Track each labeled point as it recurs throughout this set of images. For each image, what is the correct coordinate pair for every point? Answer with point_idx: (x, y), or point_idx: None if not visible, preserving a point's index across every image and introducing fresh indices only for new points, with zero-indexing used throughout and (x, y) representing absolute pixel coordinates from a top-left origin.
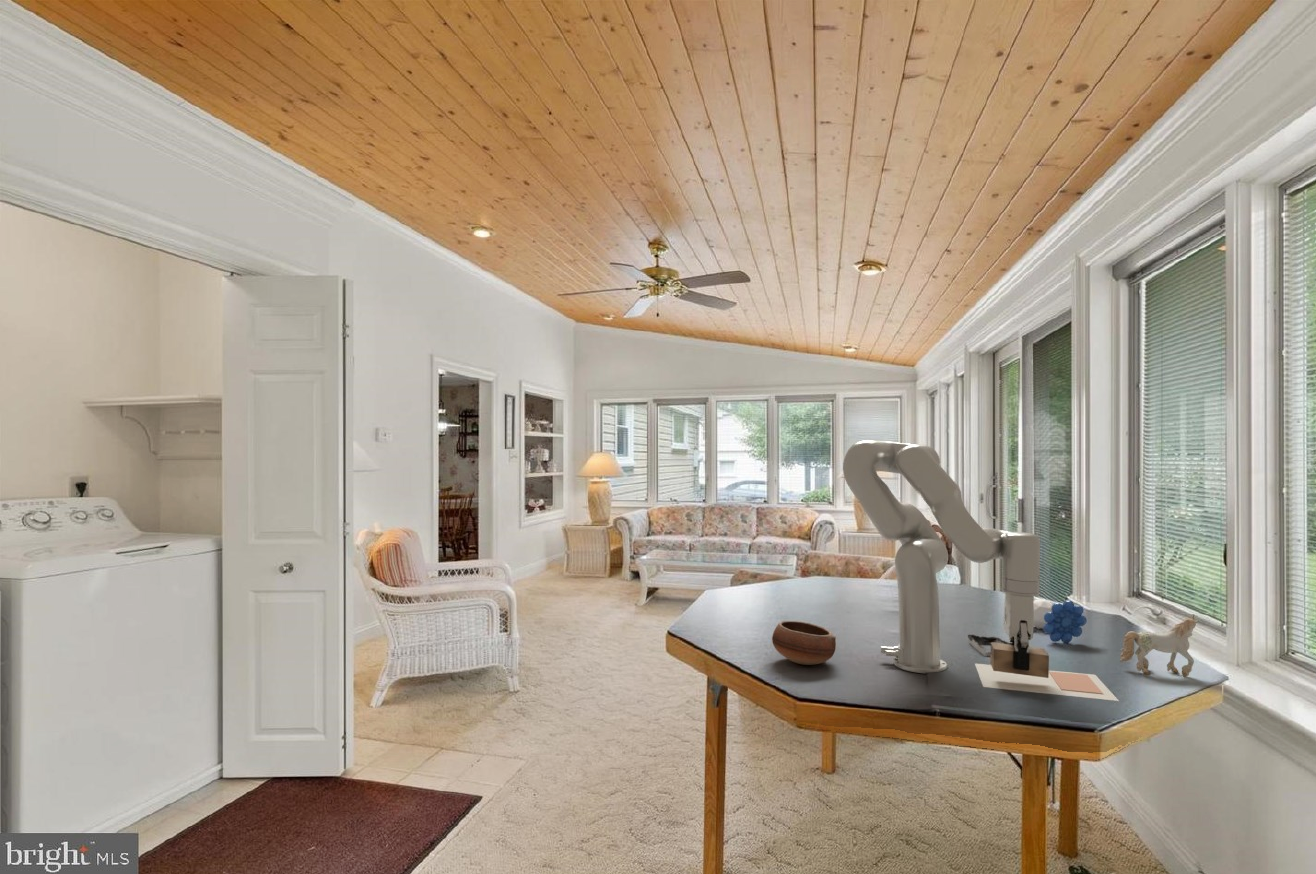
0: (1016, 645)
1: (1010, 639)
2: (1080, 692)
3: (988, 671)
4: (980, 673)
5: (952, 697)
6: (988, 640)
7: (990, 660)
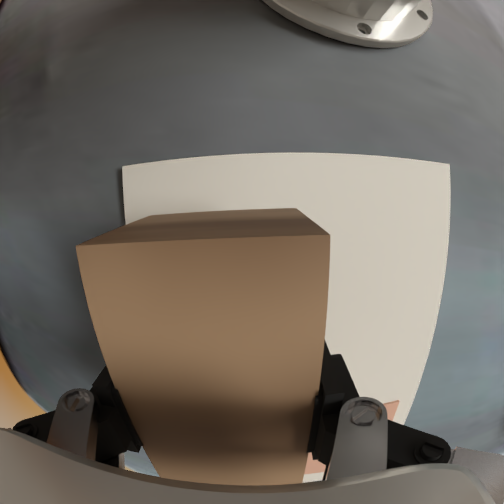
0: (57, 424)
1: (338, 427)
2: None
3: (365, 203)
4: (322, 162)
5: (38, 90)
6: None
7: (294, 210)
